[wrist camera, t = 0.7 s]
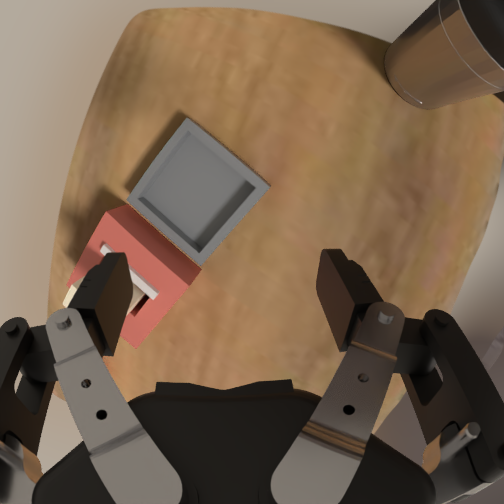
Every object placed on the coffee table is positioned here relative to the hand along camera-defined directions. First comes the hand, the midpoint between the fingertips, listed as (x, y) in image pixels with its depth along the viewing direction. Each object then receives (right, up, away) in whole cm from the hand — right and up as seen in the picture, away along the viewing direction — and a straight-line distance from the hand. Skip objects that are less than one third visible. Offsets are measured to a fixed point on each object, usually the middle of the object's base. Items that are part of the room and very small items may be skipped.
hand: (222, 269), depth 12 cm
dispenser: (-13, -2, +24) cm, 27 cm away
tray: (-5, +7, +20) cm, 22 cm away
